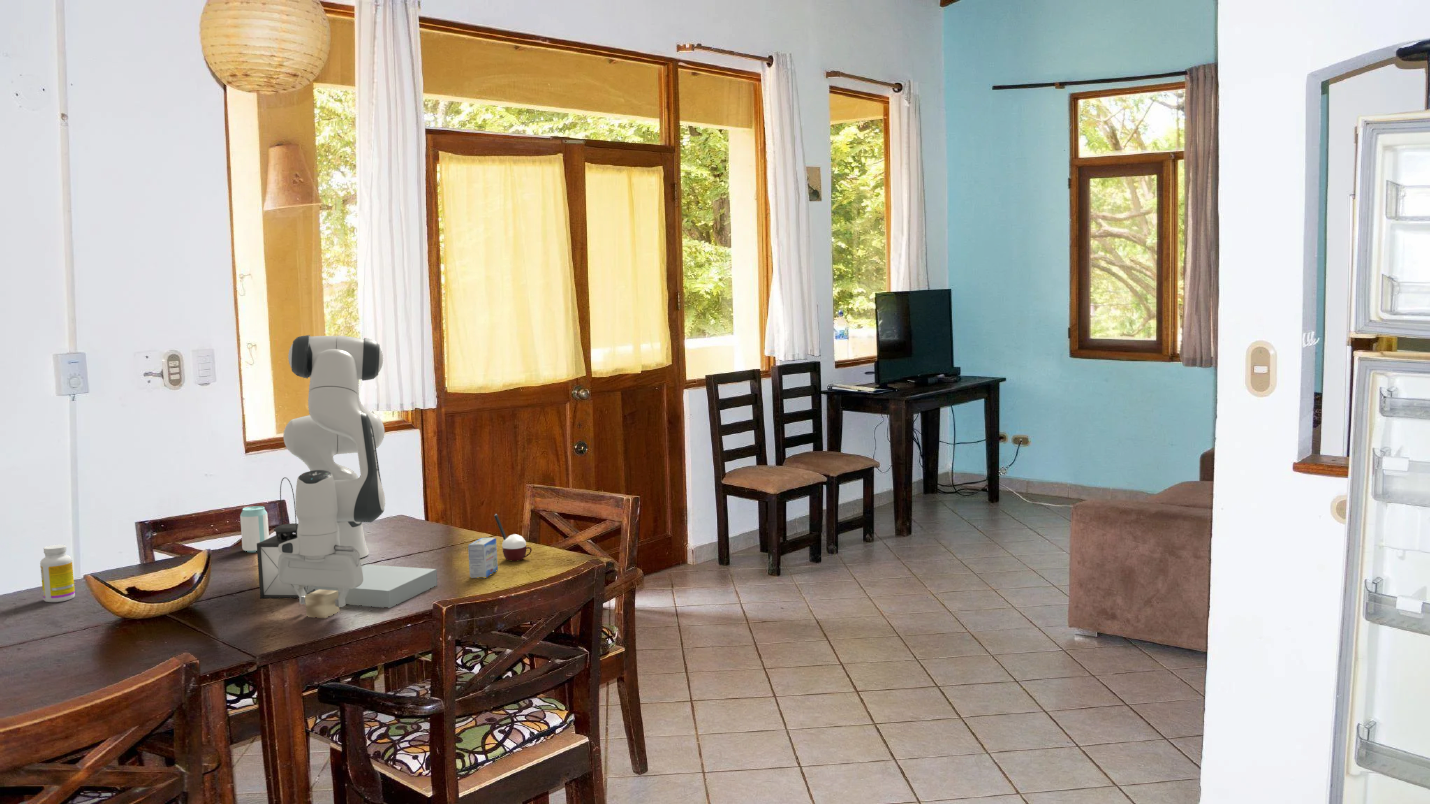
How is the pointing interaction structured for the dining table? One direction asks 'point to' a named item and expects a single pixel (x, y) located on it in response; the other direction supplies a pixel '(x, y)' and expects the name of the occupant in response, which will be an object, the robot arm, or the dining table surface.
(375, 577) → the stand
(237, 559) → the dining table surface
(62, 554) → the supplement bottle
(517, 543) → the cocoa
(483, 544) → the medicine box
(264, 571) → the lantern
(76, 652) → the dining table surface
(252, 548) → the can
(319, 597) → the maple cube
